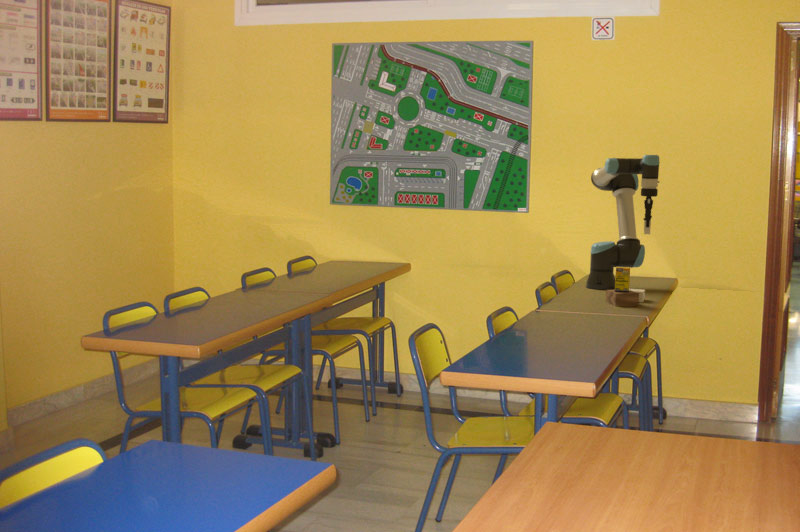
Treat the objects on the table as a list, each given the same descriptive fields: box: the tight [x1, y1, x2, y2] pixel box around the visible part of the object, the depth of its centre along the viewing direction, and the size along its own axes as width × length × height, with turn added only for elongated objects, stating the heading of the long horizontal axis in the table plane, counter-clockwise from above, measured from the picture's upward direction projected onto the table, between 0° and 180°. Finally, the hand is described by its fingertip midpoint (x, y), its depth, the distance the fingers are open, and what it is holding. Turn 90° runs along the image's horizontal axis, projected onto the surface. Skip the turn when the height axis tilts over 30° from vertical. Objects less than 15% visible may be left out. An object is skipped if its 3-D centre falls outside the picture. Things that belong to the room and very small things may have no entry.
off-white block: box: [629, 288, 646, 303], centre depth 403 cm, size 8×8×5 cm
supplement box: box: [614, 267, 631, 292], centre depth 391 cm, size 6×6×11 cm
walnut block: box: [605, 289, 640, 307], centre depth 392 cm, size 11×11×6 cm
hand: (646, 232), depth 409 cm, fingers open, 13 cm apart
